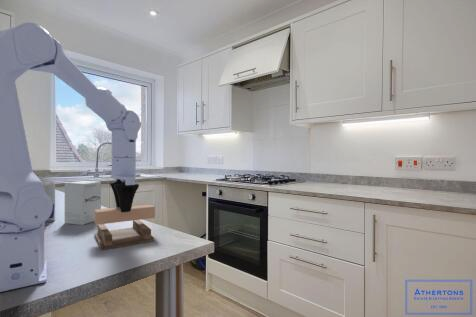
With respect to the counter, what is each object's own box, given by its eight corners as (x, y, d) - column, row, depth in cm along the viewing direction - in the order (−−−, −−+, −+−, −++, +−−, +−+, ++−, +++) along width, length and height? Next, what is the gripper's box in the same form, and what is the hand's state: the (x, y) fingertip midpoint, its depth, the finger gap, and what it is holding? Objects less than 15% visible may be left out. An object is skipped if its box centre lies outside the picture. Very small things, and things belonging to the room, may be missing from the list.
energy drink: (30, 224, 80) (30, 184, 80) (38, 219, 85) (38, 182, 85) (51, 223, 82) (51, 184, 81) (57, 218, 87) (57, 182, 87)
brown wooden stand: (153, 240, 67) (154, 228, 67) (101, 250, 60) (101, 237, 60) (140, 228, 77) (141, 218, 77) (94, 236, 70) (94, 224, 70)
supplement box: (83, 225, 80) (83, 183, 80) (63, 223, 82) (63, 182, 81) (101, 219, 87) (101, 181, 87) (83, 217, 89) (83, 180, 89)
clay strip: (96, 224, 63) (96, 212, 63) (93, 221, 67) (94, 209, 67) (154, 217, 71) (154, 206, 71) (150, 215, 75) (150, 204, 75)
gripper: (148, 158, 65) (147, 213, 65) (133, 156, 77) (132, 203, 77) (116, 158, 61) (116, 217, 61) (106, 156, 72) (105, 206, 73)
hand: (123, 210), depth 69 cm, fingers closed on clay strip, 4 cm apart
